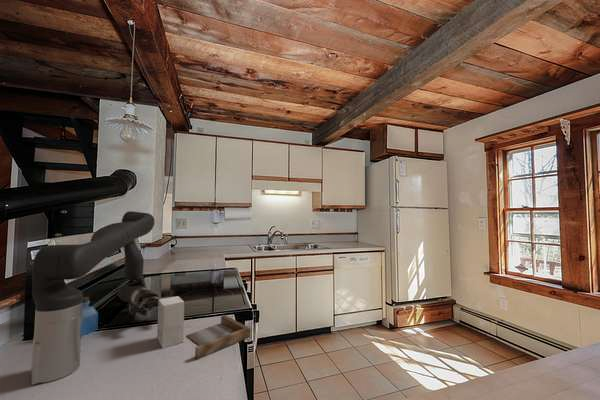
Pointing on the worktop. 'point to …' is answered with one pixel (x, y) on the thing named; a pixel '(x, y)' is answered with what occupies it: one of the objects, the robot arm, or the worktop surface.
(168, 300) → the small box
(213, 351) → the wooden tray
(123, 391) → the worktop surface
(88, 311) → the perfume bottle
